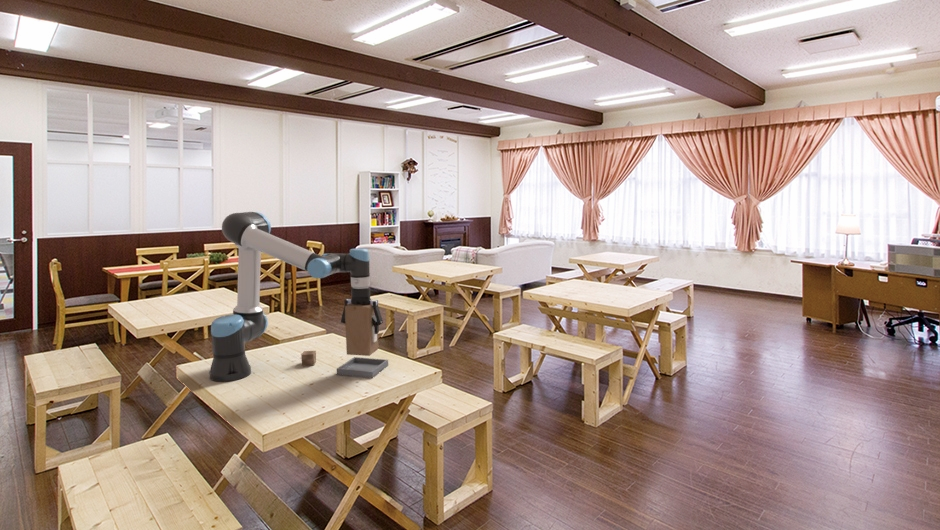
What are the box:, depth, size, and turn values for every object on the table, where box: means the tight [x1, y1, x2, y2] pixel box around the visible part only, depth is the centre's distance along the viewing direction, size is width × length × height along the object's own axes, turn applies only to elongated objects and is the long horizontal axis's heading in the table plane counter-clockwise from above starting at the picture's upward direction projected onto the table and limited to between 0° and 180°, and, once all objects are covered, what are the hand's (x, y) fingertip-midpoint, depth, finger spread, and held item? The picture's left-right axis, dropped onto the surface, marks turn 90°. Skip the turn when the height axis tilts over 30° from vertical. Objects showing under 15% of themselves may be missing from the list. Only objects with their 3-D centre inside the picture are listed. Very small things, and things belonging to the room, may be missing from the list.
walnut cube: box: [300, 350, 317, 367], centre depth 220 cm, size 5×5×5 cm
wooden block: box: [344, 303, 379, 357], centre depth 210 cm, size 10×10×20 cm
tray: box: [336, 356, 389, 379], centre depth 212 cm, size 16×16×2 cm
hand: (362, 340), depth 211 cm, fingers closed on wooden block, 10 cm apart
